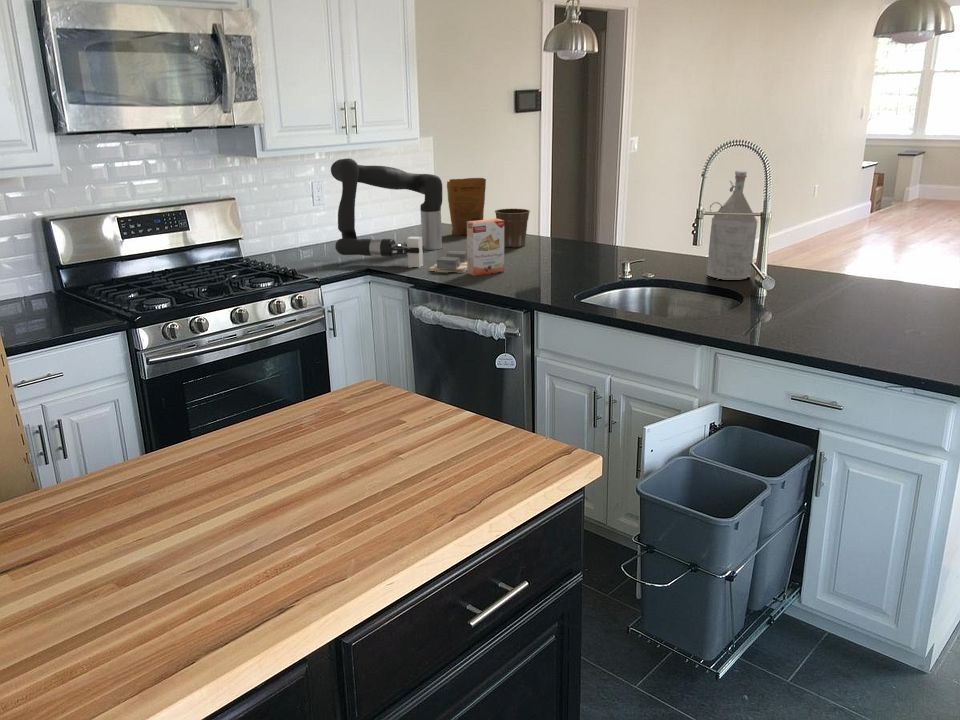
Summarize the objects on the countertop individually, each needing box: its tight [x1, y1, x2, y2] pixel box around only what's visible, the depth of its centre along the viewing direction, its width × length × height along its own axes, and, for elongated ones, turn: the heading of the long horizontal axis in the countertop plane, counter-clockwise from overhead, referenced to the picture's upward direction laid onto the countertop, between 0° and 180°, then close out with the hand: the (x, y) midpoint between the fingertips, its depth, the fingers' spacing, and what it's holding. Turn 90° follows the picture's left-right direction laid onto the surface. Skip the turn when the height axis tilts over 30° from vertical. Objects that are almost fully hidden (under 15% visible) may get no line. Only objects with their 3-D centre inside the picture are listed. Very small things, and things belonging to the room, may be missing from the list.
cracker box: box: [466, 218, 505, 277], centre depth 305 cm, size 14×6×21 cm, turn 117°
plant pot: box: [494, 208, 531, 249], centre depth 358 cm, size 16×16×16 cm
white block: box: [406, 236, 424, 269], centre depth 320 cm, size 4×5×12 cm
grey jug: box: [706, 169, 758, 278], centre depth 288 cm, size 13×17×40 cm
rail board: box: [429, 250, 467, 274], centre depth 318 cm, size 18×14×5 cm
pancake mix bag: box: [446, 177, 487, 236], centre depth 384 cm, size 7×19×28 cm, turn 85°
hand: (421, 249), depth 319 cm, fingers closed on white block, 4 cm apart
